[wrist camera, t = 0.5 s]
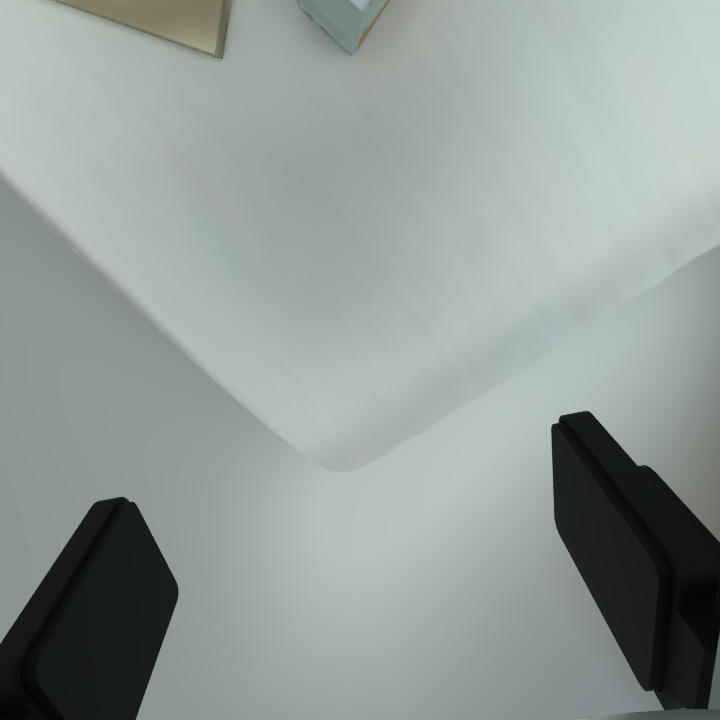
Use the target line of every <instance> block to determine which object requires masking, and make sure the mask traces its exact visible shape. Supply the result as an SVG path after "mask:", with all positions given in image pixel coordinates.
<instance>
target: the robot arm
mask: <svg viewBox="0 0 720 720" xmlns="http://www.w3.org/2000/svg"><path fill="white" fill-rule="evenodd" d="M551 428H552V429H551V434H552V462H553V491H554V517H555V523H556V527H557V530H558V533H559V535H560V537H561V539H562V540H563V542H564V544H565V546H566V548H567V550H568V552H569V553H570V555H571V557H572V559H573V561H574V563H575V565H576V567H577V568H578V570H579V572H580V574H581V576H582V578H583V580H584V581H585V583H586V585H587V587H588V589H589V590H590V593H591V595H592V596H593V598H594V600H595V602H596V604H597V606H598V608H599V609H600V611H601V613H602V615H603V617H604V619H605V621H606V622H607V624H608V626H609V628H610V630H611V632H612V634H613V636H614V637H615V639H616V641H617V643H618V645H619V647H620V649H621V650H622V652H623V654H624V656H625V658H626V660H627V662H628V663H629V665H630V667H631V669H632V671H633V673H634V675H635V677H636V678H637V680H638V682H639V683H640V685H641V687H642V688H643V689H644V690H645V691H652V690H654V692H655V694H656V696H657V698H658V699H659V701H660V703H661V705H662V707H663V708H664V710H661V711H648V712H634V713H625V714H617V715H609V716H601V717H593V718H586V719H577V720H720V542H719V541H718V540H717V539H716V538H715V537H714V536H713V535H712V534H711V532H710V531H709V530H708V529H707V528H706V527H705V526H704V525H703V524H702V523H701V521H700V520H699V519H698V518H697V517H696V516H695V515H694V514H693V513H692V512H691V511H690V509H689V508H688V507H687V506H686V505H685V504H684V503H683V502H682V501H681V500H680V498H678V497H677V495H676V494H675V493H674V492H673V491H672V490H671V489H670V488H669V486H668V485H667V484H666V483H665V482H664V481H663V480H662V479H661V478H660V477H659V475H658V474H657V473H656V472H655V471H654V470H652V469H651V468H650V467H648V466H645V465H642V466H637V465H636V464H635V462H634V461H633V460H632V459H631V458H630V457H629V456H628V454H627V453H626V452H625V451H624V450H623V449H622V448H621V446H620V445H619V444H618V443H617V442H616V441H615V440H614V438H613V437H612V436H611V435H610V434H609V433H608V432H607V430H606V429H605V428H604V427H603V426H602V425H601V424H600V423H599V421H598V420H597V419H596V418H595V417H594V416H593V414H591V413H590V412H589V411H584V412H578V413H573V414H567V415H562V416H560V418H559V423H557V424H553V425H552V427H551ZM177 599H178V585H177V582H176V580H175V578H174V576H173V574H172V572H171V571H170V569H169V567H168V565H167V563H166V561H165V559H164V557H163V555H162V553H161V551H160V549H159V547H158V545H157V544H156V542H155V540H154V538H153V536H152V534H151V532H150V530H149V528H148V526H147V524H146V522H145V520H144V518H143V517H142V514H141V513H140V511H139V509H138V507H137V505H136V504H135V503H134V502H129V501H128V500H127V499H126V498H125V497H118V498H113V499H108V500H102V501H98V502H96V503H94V504H93V506H92V507H91V509H90V510H89V511H88V513H87V514H86V516H85V517H84V519H83V520H82V522H81V523H80V525H79V526H78V528H77V529H76V531H75V532H74V534H73V535H72V537H71V538H70V540H69V542H68V543H67V544H66V546H65V547H64V549H63V551H62V552H61V553H60V555H59V557H58V558H57V560H56V561H55V562H54V564H53V565H52V567H51V569H50V570H49V572H48V573H47V574H46V576H45V578H44V579H43V581H42V582H41V584H40V585H39V587H38V588H37V590H36V591H35V593H34V594H33V596H32V597H31V599H30V600H29V602H28V603H27V605H26V606H25V608H24V609H23V611H22V612H21V614H20V615H19V617H18V618H17V620H16V621H15V623H14V624H13V626H12V627H11V629H10V630H9V632H8V633H7V635H6V636H5V638H4V639H3V641H2V642H1V644H0V720H136V717H137V714H138V711H139V708H140V705H141V703H142V700H143V697H144V694H145V691H146V688H147V685H148V683H149V680H150V677H151V674H152V671H153V668H154V665H155V663H156V659H157V657H158V654H159V651H160V648H161V646H162V642H163V640H164V637H165V634H166V631H167V628H168V626H169V623H170V620H171V617H172V614H173V611H174V608H175V606H176V603H177ZM681 708H685V709H681ZM674 709H675V710H674Z"/></svg>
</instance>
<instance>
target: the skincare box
mask: <svg viewBox="0 0 720 720" xmlns="http://www.w3.org/2000/svg"><path fill="white" fill-rule="evenodd" d="M297 1H298V4H299V7H300V9H302V10H303V11H304V12H305V13H306V14H307V15H308V16H309V17H310V18H311V19H312V20H313V21H314V22H315V23H316V24H317V25H318V26H320V27H321V28H322V29H323V30H324V31H325V32H326V33H327V34H328V35H330V36H331V37H332V38H333V39H334V40H335V41H336V42H337V43H338V44H339V45H341V46H342V47H343V48H344V49H345V50H346V51H347V52H348V53H349V54H350V55H354V53H355V52H356V50H357V49H358V47H359V45H360V44H361V42H362V41H363V39H364V38H365V36H366V35H367V33H368V31H369V30H370V28H371V27H372V25H373V24H374V22H375V21H376V19H377V18H378V16H379V15H380V13H381V12H382V10H383V9H384V7H385V6H386V4H387V3H388V1H389V0H297Z"/></svg>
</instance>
